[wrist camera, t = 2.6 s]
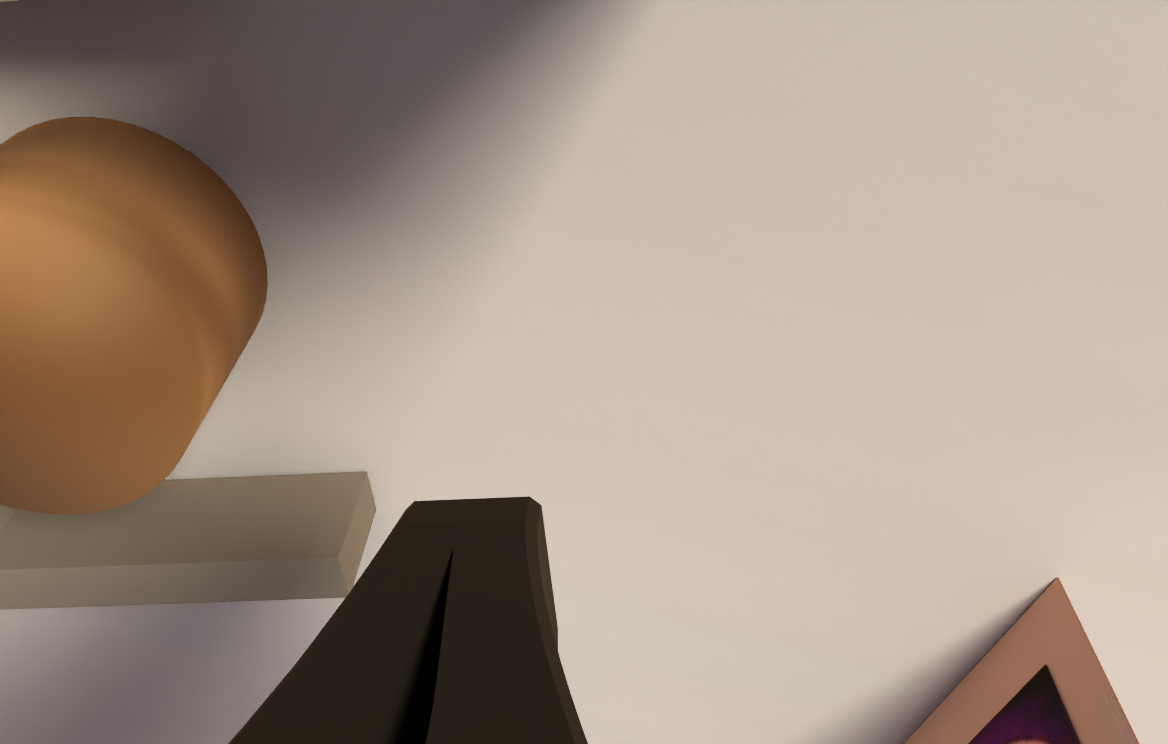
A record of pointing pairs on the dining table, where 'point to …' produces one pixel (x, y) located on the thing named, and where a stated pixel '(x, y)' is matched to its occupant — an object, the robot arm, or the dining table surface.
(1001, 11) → the dining table surface
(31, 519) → the keyhole track
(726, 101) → the dining table surface
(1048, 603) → the greeting card
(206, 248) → the tan rounded capsule
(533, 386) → the dining table surface
